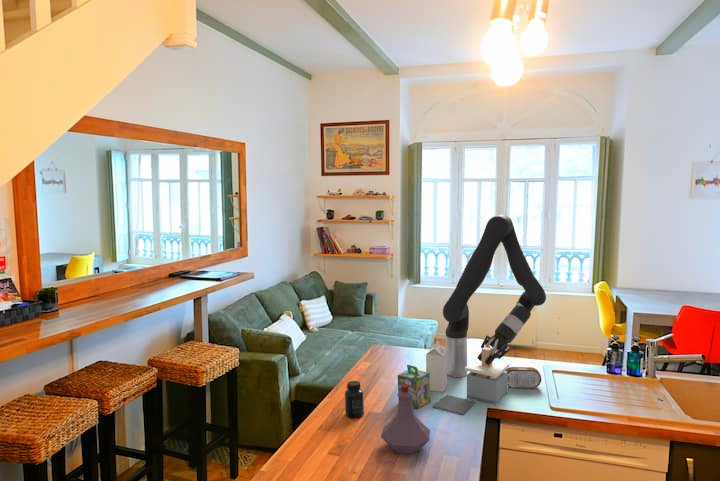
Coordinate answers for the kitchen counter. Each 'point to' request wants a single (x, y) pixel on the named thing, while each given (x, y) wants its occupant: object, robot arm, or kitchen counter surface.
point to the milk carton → (437, 367)
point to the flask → (405, 427)
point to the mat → (454, 404)
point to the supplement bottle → (354, 400)
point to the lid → (482, 368)
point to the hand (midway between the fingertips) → (482, 361)
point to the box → (486, 387)
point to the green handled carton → (416, 385)
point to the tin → (523, 377)
